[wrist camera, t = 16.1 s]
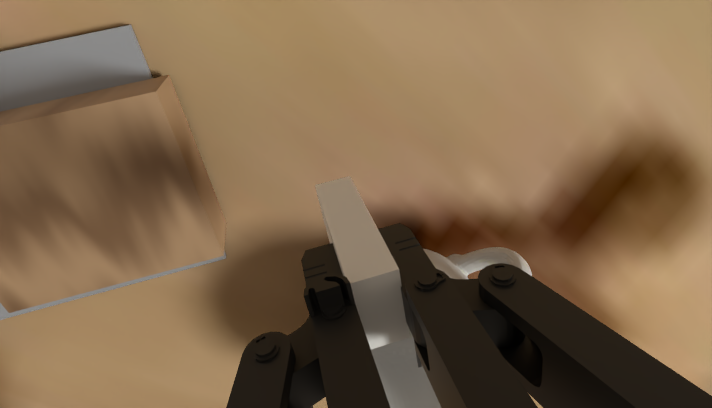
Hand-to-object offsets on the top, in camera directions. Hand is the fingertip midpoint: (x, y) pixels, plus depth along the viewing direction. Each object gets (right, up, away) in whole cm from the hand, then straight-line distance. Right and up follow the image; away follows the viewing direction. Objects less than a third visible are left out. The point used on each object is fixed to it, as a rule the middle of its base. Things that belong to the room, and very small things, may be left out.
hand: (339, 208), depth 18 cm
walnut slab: (-8, +2, +4) cm, 9 cm away
